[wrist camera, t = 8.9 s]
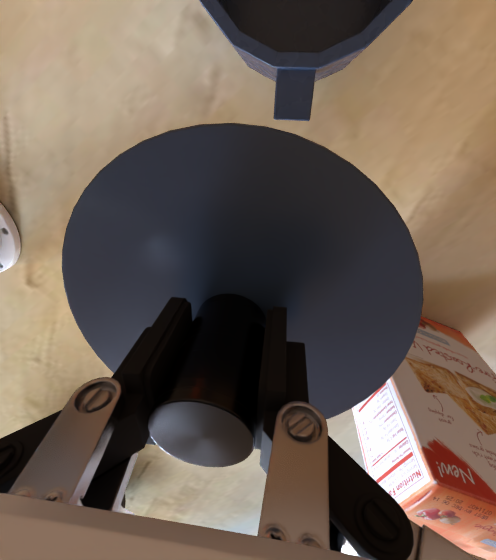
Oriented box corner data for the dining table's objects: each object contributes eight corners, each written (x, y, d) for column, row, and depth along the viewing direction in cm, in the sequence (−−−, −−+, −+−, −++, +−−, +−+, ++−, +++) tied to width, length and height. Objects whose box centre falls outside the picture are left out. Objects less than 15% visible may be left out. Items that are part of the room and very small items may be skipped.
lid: (116, 394, 17) (40, 516, 12) (31, 116, 10) (-261, 111, 5) (365, 426, 16) (403, 580, 11) (476, 130, 9) (782, 147, 3)
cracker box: (462, 327, 34) (662, 566, 16) (428, 360, 37) (564, 592, 19) (357, 285, 33) (441, 488, 15) (331, 322, 36) (375, 529, 18)
